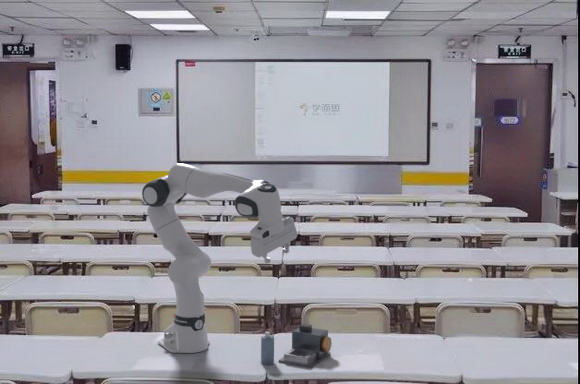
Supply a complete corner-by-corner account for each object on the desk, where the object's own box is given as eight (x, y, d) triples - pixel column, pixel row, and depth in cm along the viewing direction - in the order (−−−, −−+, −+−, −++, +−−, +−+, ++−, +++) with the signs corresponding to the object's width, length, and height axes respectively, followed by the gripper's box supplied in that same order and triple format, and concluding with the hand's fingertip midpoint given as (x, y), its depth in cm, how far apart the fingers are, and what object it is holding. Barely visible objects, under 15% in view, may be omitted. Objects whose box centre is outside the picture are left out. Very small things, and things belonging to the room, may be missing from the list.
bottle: (258, 362, 288) (258, 332, 286) (268, 359, 291) (268, 329, 290) (266, 366, 284) (267, 335, 283) (276, 363, 287) (276, 332, 286)
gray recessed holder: (278, 362, 289) (278, 332, 287) (298, 349, 305) (299, 320, 303) (313, 368, 282) (314, 337, 281) (332, 354, 298) (333, 325, 297)
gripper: (287, 212, 288) (292, 244, 293) (246, 233, 276) (251, 265, 282) (298, 216, 283) (302, 248, 289) (256, 237, 272) (262, 270, 277)
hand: (277, 257), depth 285 cm, fingers open, 8 cm apart
